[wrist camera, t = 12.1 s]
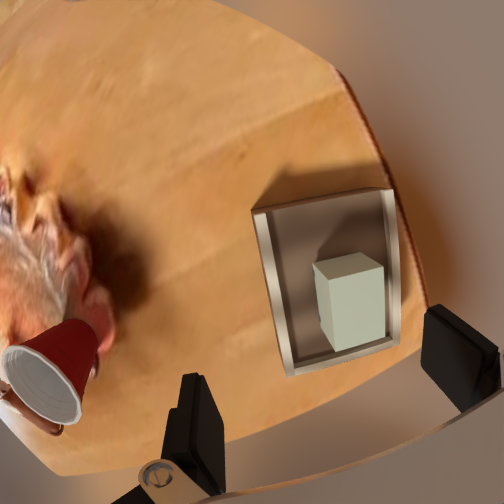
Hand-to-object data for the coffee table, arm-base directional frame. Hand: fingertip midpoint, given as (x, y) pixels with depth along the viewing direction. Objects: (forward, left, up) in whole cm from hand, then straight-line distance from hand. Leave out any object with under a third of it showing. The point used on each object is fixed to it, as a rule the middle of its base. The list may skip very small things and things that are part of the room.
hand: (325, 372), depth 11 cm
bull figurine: (+15, -39, -23) cm, 48 cm away
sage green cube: (+5, +6, -19) cm, 20 cm away
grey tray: (+5, +6, -23) cm, 24 cm away
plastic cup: (+7, -26, -23) cm, 35 cm away
